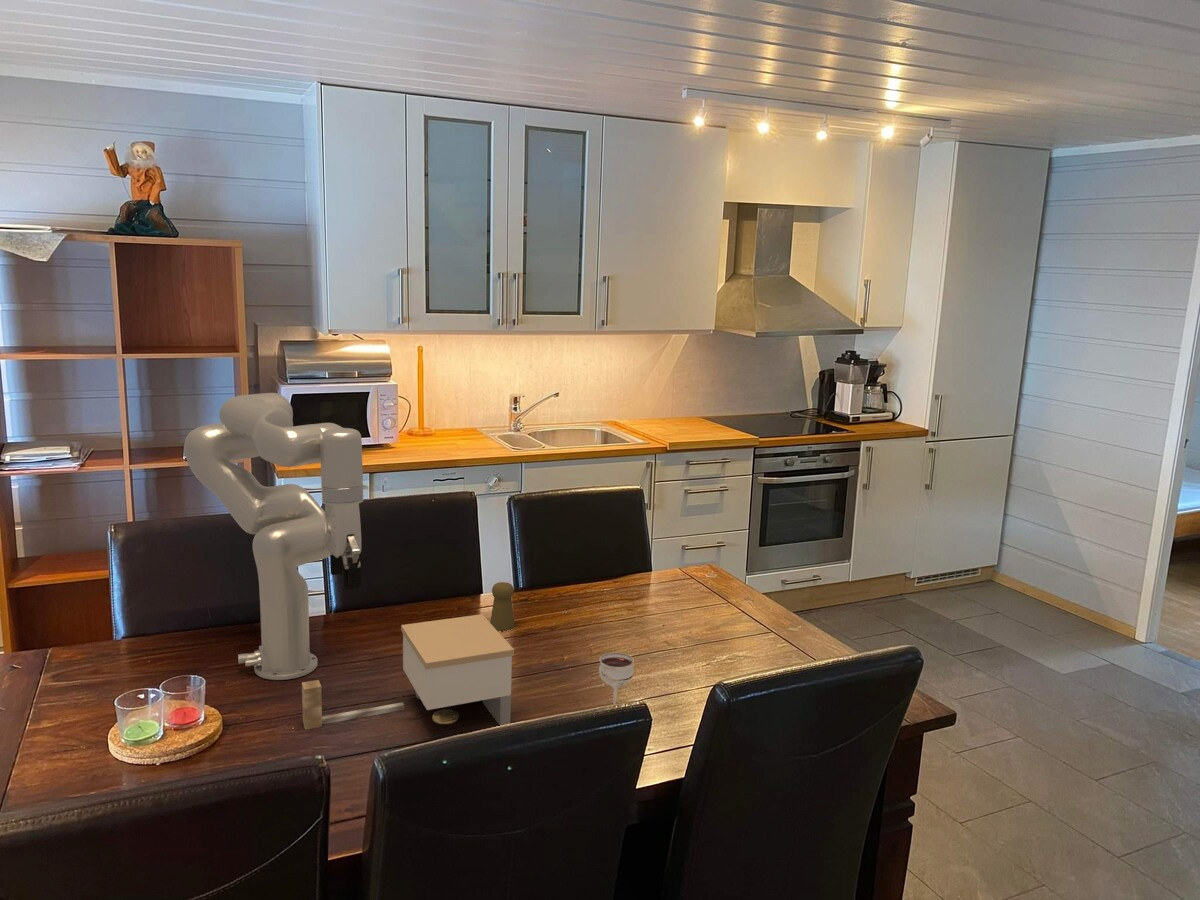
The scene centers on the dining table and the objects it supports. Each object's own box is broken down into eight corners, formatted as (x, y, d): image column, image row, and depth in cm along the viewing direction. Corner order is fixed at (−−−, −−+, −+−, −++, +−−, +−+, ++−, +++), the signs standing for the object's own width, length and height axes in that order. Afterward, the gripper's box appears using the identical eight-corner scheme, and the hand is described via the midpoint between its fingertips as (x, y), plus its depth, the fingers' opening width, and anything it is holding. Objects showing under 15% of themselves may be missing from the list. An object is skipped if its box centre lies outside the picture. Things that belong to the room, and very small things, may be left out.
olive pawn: (515, 622, 214) (516, 579, 212) (513, 632, 208) (514, 588, 206) (490, 622, 214) (491, 579, 212) (488, 631, 208) (489, 587, 206)
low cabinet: (425, 741, 158) (426, 663, 155) (401, 696, 174) (401, 625, 172) (512, 724, 165) (514, 649, 162) (481, 683, 182) (482, 614, 179)
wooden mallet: (305, 729, 160) (304, 689, 159) (302, 722, 163) (301, 682, 162) (405, 711, 169) (405, 673, 167) (401, 705, 171) (401, 666, 170)
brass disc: (436, 728, 164) (436, 724, 164) (429, 715, 168) (429, 712, 168) (462, 723, 166) (462, 719, 166) (454, 711, 170) (454, 707, 170)
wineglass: (589, 716, 170) (591, 659, 167) (613, 706, 174) (616, 649, 172) (614, 730, 165) (617, 671, 163) (638, 718, 170) (641, 661, 167)
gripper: (312, 487, 171) (315, 571, 174) (333, 505, 156) (336, 597, 159) (350, 483, 174) (353, 566, 177) (375, 501, 160) (377, 591, 163)
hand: (345, 580), depth 168 cm, fingers open, 9 cm apart
